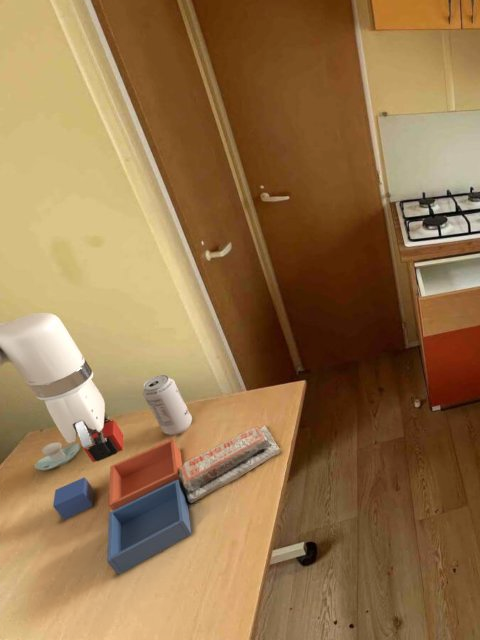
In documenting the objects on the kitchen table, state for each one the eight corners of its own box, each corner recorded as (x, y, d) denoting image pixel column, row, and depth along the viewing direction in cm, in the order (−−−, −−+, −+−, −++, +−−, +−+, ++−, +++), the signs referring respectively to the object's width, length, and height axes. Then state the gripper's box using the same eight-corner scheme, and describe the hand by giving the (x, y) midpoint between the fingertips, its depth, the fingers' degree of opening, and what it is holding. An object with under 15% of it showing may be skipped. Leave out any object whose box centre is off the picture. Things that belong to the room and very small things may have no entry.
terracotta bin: (118, 519, 86) (108, 505, 84) (119, 479, 93) (110, 466, 91) (185, 486, 92) (177, 472, 90) (180, 451, 100) (173, 438, 98)
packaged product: (182, 491, 86) (172, 460, 92) (190, 506, 88) (180, 474, 94) (276, 439, 97) (262, 414, 103) (281, 453, 99) (267, 428, 105)
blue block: (63, 519, 85) (52, 506, 83) (66, 503, 89) (55, 489, 86) (93, 506, 88) (83, 492, 86) (94, 490, 91) (84, 476, 89)
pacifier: (38, 463, 97) (40, 478, 93) (24, 444, 94) (25, 459, 91) (81, 442, 102) (84, 456, 98) (68, 424, 99) (71, 437, 96)
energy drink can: (198, 422, 107) (177, 378, 100) (172, 440, 102) (148, 395, 95) (185, 413, 110) (163, 370, 103) (159, 431, 105) (134, 386, 98)
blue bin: (118, 574, 77) (107, 561, 75) (118, 526, 84) (108, 512, 82) (191, 534, 83) (183, 520, 81) (185, 492, 91) (178, 478, 89)
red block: (93, 462, 80) (81, 447, 78) (94, 447, 84) (83, 431, 81) (123, 449, 83) (113, 434, 81) (123, 435, 86) (113, 419, 84)
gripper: (39, 362, 78) (85, 429, 87) (23, 418, 67) (78, 490, 75) (92, 345, 83) (132, 411, 91) (86, 396, 71) (132, 466, 79)
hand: (107, 446), depth 83 cm, fingers closed on red block, 4 cm apart
